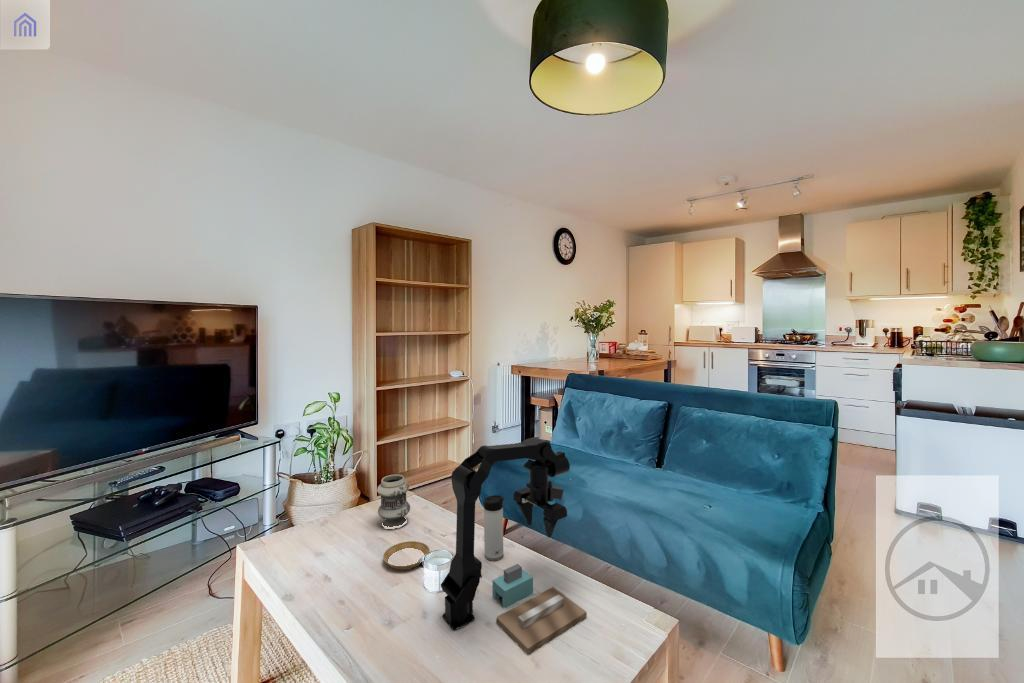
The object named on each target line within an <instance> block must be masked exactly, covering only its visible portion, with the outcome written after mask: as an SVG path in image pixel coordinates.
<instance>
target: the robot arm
mask: <svg viewBox="0 0 1024 683" xmlns="http://www.w3.org/2000/svg"><path fill="white" fill-rule="evenodd" d="M522 459H528V460H527V461H526V462H525V463H524V464H523V465H522V467H523V468H525V469H527V470H529V482H528V483H526V487H524V488H523V487H522V488H519V489H517V490H515V491H514V493H513V501H515V504H516V505H517V507H518V508H519V510H520V511H521V512H520V513H522V515H523V517H524V519H525V522H526V524H527V525H528V526H532V523H533V507H534V506H535V507H539V508H541V509H542V510H543V517H542V519H543V524H544V528H545V532H546V536H547V538H549V539H550V538H551V537H552V536H553V533H554V530H555V528H556V524H557V523H558V521H560V520H561V519H565V518H566V517H568V508H567V507H566V506H564V505H562V504H560V503H558V502H555V503H552V504H550V503H549V502H554V499H555V500H560V501H561V500H562V499H563V495H564V491H565V489H563V488H562V487H560V486H557V485H555V484H552V481H551V480H549V477H551V478H554V477H557V476H560V475H564V474H566V473H567V474H568V473H569V471H570V469H571V464H570V462H569V459H568V457H567V456H566V453H565V452H564V451H561V450H559V451H556V452H554V450H553V449H552V444H551V443H550V442H549V441H547V440H544V439H540V438H539V437H528V438H527V439H524V440H523V441H522V442H519V443H507V444H505V443H504V444H495V445H482V446H480V447H478V449H477V450H476V451H475V452H474V453H472V454H471V455H469V456H468V457H466V458H465V459H464V460H463V461H462V462H461V463H460V464H459V465H458V466H457V467H456V468H455V469H454V470H453V471H452V473H451V476H450V477H451V479H450V480H451V487H452V490H453V491H452V492H453V494H454V496H455V499H456V528H455V529H456V532H455V533H456V536H455V539H456V541H455V554H454V556H453V558H452V560H451V561H450V565H449V566H450V567H449V572H448V573H447V575H446V576H445V577H444V579H443V581H442V582H441V583H440V587H441V589H442V591H443V592H444V593H445V594H446V596H445V597H444V613H442V618H443V619H444V621H445V622H446V623H447V624H448V625H449V627H450V628H451V629H452V630H457V629H459V628H461V627H463V626H466V625H467V624H469V623H470V622H473V621H475V619H476V618H475V616H474V614H473V612H474V608H473V607H474V603H473V601H474V600H475V597H476V592H477V590H478V586H479V585H480V580H481V579H482V578H483V575H482V567H483V565H482V564H483V563H482V561H480V559H479V558H477V557H476V555H475V534H476V533H475V530H476V529H475V527H476V502H477V501H478V499H479V497H480V495H481V493H482V487H483V483H484V482H485V481H486V480H487V478H488V477H489V474H490V472H491V469H492V466H494V465H493V464H495V463H496V462H505V461H515V460H522ZM478 465H480V466H479V468H478V469H477V470H475V469H474V468H475V467H477V466H478Z"/></svg>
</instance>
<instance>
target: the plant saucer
mask: <svg viewBox="0 0 1024 683" xmlns="http://www.w3.org/2000/svg"><path fill="white" fill-rule="evenodd" d="M405 548H414V549H418V550H421V551H422V552H423V553H424V555H425V554H428V553H429V554H430V547H429V546H428V545H427V544H426V543H424V542H420V541H416V540H415V541H414V540H412V541H409V540H408V541H403V542H399V543H397V544H394V545H392V546H390V547H389V548H387V549H386V550H385V552H384V553H383V562H385V563H386V565H388V566H389V567H391V568H392V569H395V568H396V569H395V570H399V569H406V570H410V569H409V568H411V569H414V568H417V567H418V566H420V565H419V563H420V561H419V562H417V563H415V564H411V565H407V566H395V565H391V564H389V563H388V559H389V557H390V556H391V555H392V554H393V553H395V552H397V551H399V550H402V549H405ZM429 554H428V555H429ZM413 567H414V568H413Z"/></svg>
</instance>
